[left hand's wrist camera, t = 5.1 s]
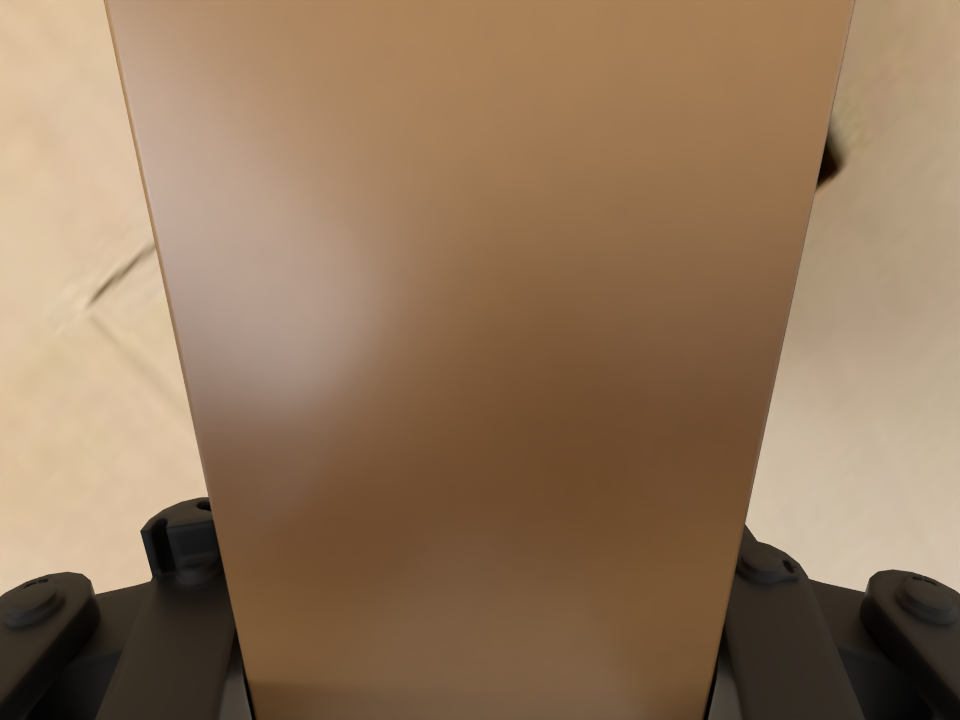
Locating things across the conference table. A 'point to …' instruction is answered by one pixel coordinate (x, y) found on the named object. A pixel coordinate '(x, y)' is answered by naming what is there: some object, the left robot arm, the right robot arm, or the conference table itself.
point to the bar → (479, 329)
